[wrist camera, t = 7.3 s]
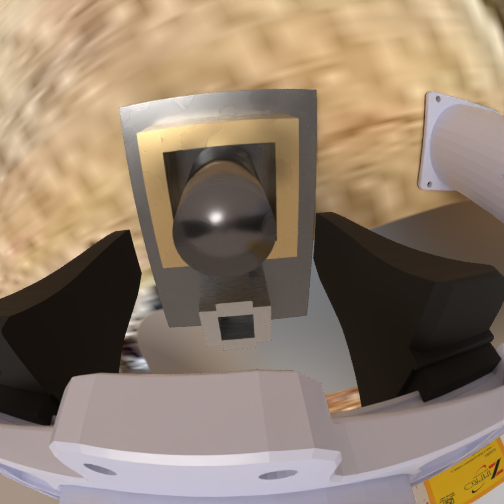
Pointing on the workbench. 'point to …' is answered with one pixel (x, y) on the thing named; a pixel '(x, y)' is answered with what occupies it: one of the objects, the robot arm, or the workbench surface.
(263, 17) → the workbench surface
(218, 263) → the dark grey cylinder
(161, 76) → the workbench surface
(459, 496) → the packaging box
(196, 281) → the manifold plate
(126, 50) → the workbench surface
